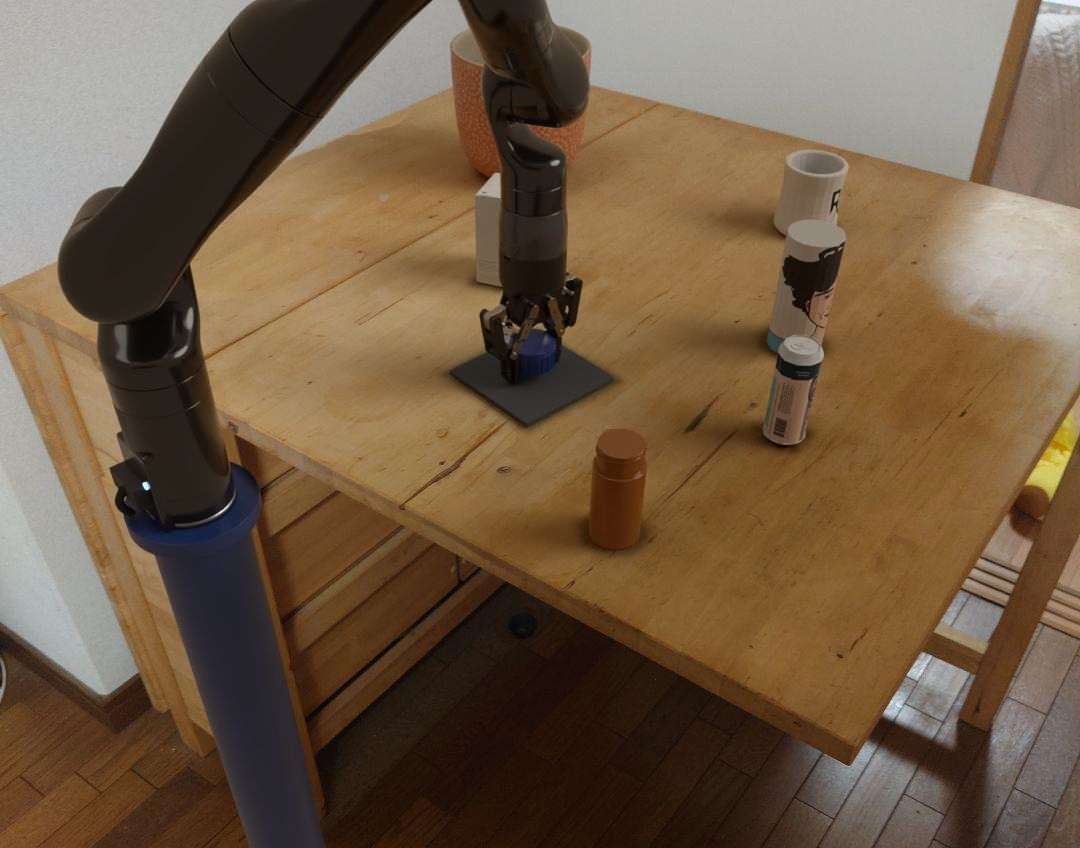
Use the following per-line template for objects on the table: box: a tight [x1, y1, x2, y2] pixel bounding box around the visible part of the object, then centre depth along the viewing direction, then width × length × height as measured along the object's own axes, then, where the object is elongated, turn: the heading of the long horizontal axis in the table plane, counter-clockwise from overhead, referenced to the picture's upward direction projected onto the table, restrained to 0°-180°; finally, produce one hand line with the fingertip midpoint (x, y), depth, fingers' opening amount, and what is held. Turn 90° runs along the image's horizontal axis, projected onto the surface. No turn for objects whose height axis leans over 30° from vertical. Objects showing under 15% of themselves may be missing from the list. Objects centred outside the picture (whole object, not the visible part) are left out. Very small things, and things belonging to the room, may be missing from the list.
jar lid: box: [509, 327, 557, 376], centre depth 125 cm, size 6×6×3 cm
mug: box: [773, 149, 850, 237], centre depth 154 cm, size 12×9×10 cm
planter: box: [449, 24, 592, 179], centre depth 163 cm, size 21×21×19 cm
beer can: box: [762, 335, 825, 446], centre depth 116 cm, size 5×5×12 cm
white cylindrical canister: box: [766, 220, 847, 354], centre depth 129 cm, size 7×7×15 cm
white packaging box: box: [474, 173, 502, 288], centre depth 141 cm, size 7×7×13 cm
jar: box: [587, 428, 648, 551], centre depth 104 cm, size 5×5×12 cm
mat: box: [449, 344, 615, 428], centre depth 128 cm, size 14×14×1 cm
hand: (531, 370), depth 127 cm, fingers closed on jar lid, 5 cm apart
